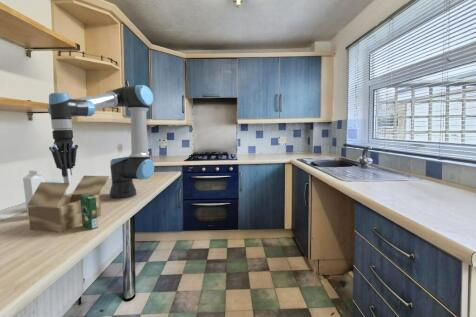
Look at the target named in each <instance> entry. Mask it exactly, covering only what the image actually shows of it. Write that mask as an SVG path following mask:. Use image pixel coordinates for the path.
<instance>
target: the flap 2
mask: <svg viewBox="0 0 476 317" xmlns="http://www.w3.org/2000/svg"><path fill="white" fill-rule="evenodd" d="M109 179H110V176H109V175H83V176H82V178H81V179H80V181H79V182H78V184H77V186H75V189H74V190H73V191H72V193H73V194H98V195H100V194H101V192H102V191H103V189H104V187H105V186H106V184H107V182H108V180H109Z"/></svg>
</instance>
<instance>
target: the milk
mask: <svg viewBox="0 0 476 317" xmlns="http://www.w3.org/2000/svg"><path fill="white" fill-rule="evenodd" d="M22 180H23V190H24V197H25V198H24V199H25V207H26V214H27V218H28V219H29V214H28V206H29V205H28V203H29V202H30V200H31V198H32V196H33V195H34V193H35V191H36V189H37V188H38V186H39V184H40V183H41V182H45V181H46V180H45V176H43V175H42V174H38V172H37V170H29V171H28V174H27V175H26V176H24V177H23V178H22Z"/></svg>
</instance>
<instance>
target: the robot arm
mask: <svg viewBox="0 0 476 317" xmlns="http://www.w3.org/2000/svg"><path fill="white" fill-rule="evenodd" d="M153 103H154V95H153V92H152V90H151V89H150V88H149V87H148V86H147V85H145V84H142V85H141V84H137V85H130V86H121V87H119V88H118V87H117V88H115V89H111V90H107V91H105V92H104V93H101V94H94V95H89V96H87V95H86V96H84V97H76V98H71V97H70V94H68V93H67V92H51V93H49V94H48V105H49V108H48V107H47V112H48V114H49V115H50V122H51V129H52V131H51V132H52V133H51V134H52V139H53V140H54V142H53V145H52V146H49V148H48V149H49V151H50V152H51V154H52V158H53V161H54V164H55V167H56V168H57V169H59V170H60V171H61V176H62V177H63V178H62V179H64V183H70V184H72V183H73V182H72V176H73V175H72V174H73V173H72V172H73V171H72V169H74V167H76V159H77V152H78V151H77V150H78V147H79V145H78V144H75V143H74V141H73V139H74V131H73V130H72V129H73V121H72V118H74V117H93V116H94V114H95V113H96V110H101V109H106V108H111V109H112V108H114V109H115V108H121V107H122V108H123V107H125V108H126V107H127V109H128V111H129V112H130V137H131V138H130V139H131V141H130V142H131V145H130V147H131V151H130V152H131V153H130V154H129V156H124V157H123V156H122V157H117V158H112V159H111V160H110V165H109V167H110V175H111V185H110V186H111V187H110V191H109V197H110V199H111V198H112V199H124V198H129V197H134V196H136V195H137V189H136V186H135V183H134V181H133V180H139V181H140V180H141V181H142V180H148V179H149V178H151V177H152V175H153V173H154V171H155V163H154V162H153V160H152V159H151V156H150V155H149V154H148V135H147V133H148V132H147V128H148V127H147V113H148V111H149V110H150V106H151V105H153Z"/></svg>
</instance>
